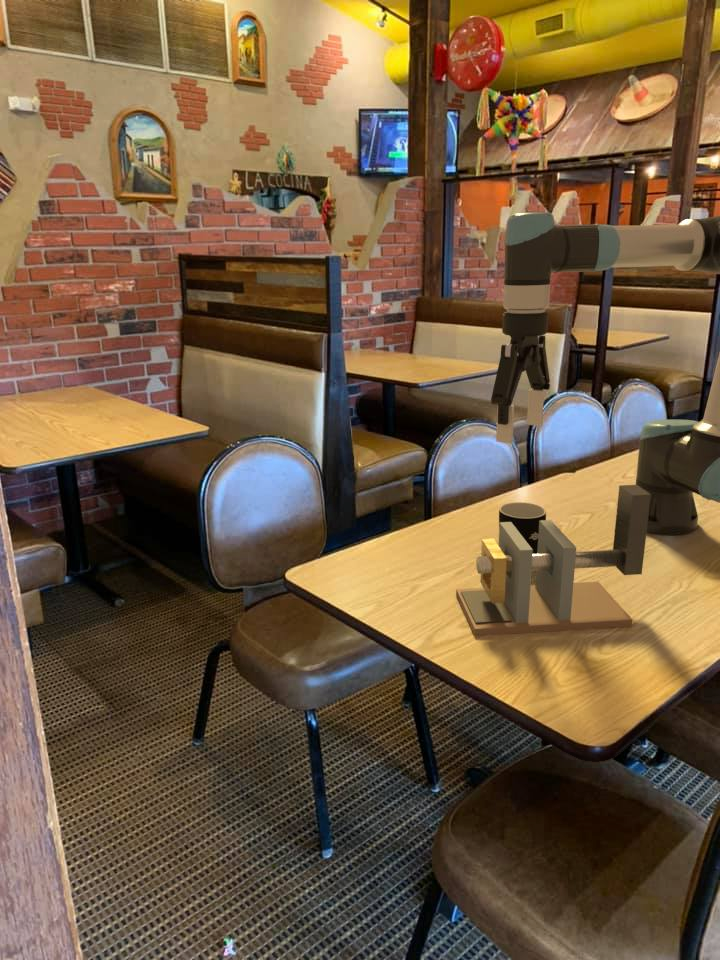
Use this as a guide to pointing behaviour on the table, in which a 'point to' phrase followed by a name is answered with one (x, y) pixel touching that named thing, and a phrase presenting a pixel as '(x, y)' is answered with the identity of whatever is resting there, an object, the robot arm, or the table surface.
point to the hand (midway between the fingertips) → (520, 433)
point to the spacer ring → (494, 571)
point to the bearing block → (541, 591)
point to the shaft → (626, 539)
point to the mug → (524, 520)
